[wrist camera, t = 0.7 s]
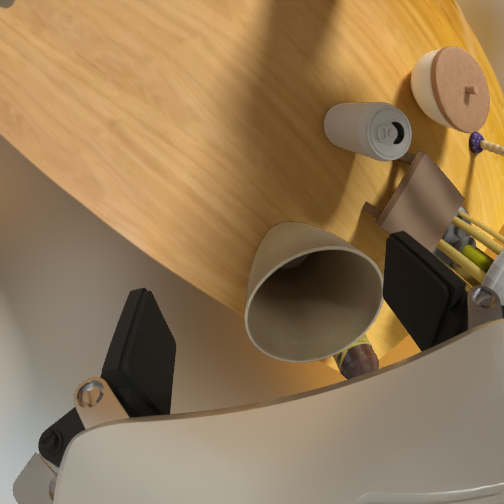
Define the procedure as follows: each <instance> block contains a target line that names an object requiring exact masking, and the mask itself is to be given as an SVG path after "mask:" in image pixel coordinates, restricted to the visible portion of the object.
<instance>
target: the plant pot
mask: <svg viewBox="0 0 504 504" xmlns="http://www.w3.org/2000/svg"><path fill="white" fill-rule="evenodd" d="M382 290H383V276H382V273H381V271H380V269H379V267H378V266H377V264H376V263H375V262H374V261H373V260H372V259H371V258H370V257H369V256H367V255H366V254H365V253H363V252H362V251H360V250H359V249H357V248H356V247H354V246H353V245H351V244H350V243H348V242H347V241H345V240H343V239H342V238H340V237H338V236H336V235H334V234H332V233H330V232H328V231H326V230H324V229H321V228H319V227H316V226H313V225H309V224H305V223H300V222H282V223H279V224H277V225H275V226H273V227H272V228H271V229H270V230H269V231H268V232H267V233H266V234H265V236H264V237H263V239H262V241H261V243H260V245H259V247H258V249H257V251H256V254H255V257H254V260H253V263H252V266H251V270H250V274H249V279H248V285H247V293H246V303H245V316H244V322H245V328H246V332H247V335H248V337H249V339H250V340H251V342H252V343H253V344H254V346H255V347H256V348H258V349H259V350H260V351H261V352H263V353H264V354H266V355H268V356H269V357H272V358H274V359H278V360H281V361H287V362H296V363H298V362H311V361H316V360H321V359H324V358H327V357H330V356H333V355H335V354H337V353H339V352H341V351H343V350H344V349H346V348H348V347H349V346H351V345H352V344H353V343H355V342H356V341H357V340H358V339H360V338H361V337H362V336H363V335H364V334H365V333H366V331H367V330H368V329H369V328H370V327H371V325H372V324H373V323H374V321H375V319H376V318H377V316H378V314H379V312H380V309H381V307H382V304H383V300H384V298H383V294H382Z"/></svg>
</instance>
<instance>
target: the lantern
mask: <svg viewBox="0 0 504 504" xmlns="http://www.w3.org/2000/svg"><path fill="white" fill-rule="evenodd" d="M471 222H472V223H473V224H475V225H476V226H478V227H480V228H481V229H483V230H484V231H486V232H487V233H489V234H490V235H492V236H493V237H495V238H497V239H498V240H499V241H501V242H502V243H504V237H503V236H502V235H500V234H499V233H497V232H496V231H494V230H492V229H491V228H489V227H488V226H486V225H484V224H483V223H481V222H480V221H478V220H476V219H475V218H473V217H471V216H469V214H468V212H467V211H466V209H465V208H464V207H462V206H461V207H460V208H459V210H458V212H457V214H456V215H455V217H454V219H453V221H452V222H451V224H450V226H449V227H448V229H447V230H446V232H445V234H444V235H443V237H442V238H441V240H440V242H439V243H438V245H437V246H436V248H435V249H434V251H433V252H432V254H434V255H435V256H436V257H437V258H438V259H439V260H441V261H442V262H443V263H444V264H445V265H446V266H448V267H449V268H450V269H451V268H452V269H453V270H454V271H455V272H456V273H455V272H454V271H453V270H452V269H451V270H452V271H453V272H454V273H455V274H456V275H458V274H459V275H460V276H461V277H462V278H463V279H464V280H465V281H464V280H463V279H462V278H461V277H460V276H459V275H458V276H459V277H460V278H461V279H462V280H463V281H464V282H465V283H466V282H468V283H469V284H470V285H471V286H472V287H474V286H485V287H488V288H490V289H492V290H493V291H495V292H496V293H497V295H498V296H499V298H500V302H501V305H503V306H504V247H502V246H501V245H499V244H498V243H496V242H495V241H494V240H492V239H491V238H489V237H488V236H486V235H485V234H483V233H482V232H480V231H479V230H477V229H475V228H474V227H472V226H471ZM471 236H472V237H473V238H475V239H476V240H478V241H479V242H481V243H482V244H483V245H485V246H486V247H488V248H489V249H490V250H492V251H493V252H495V253H496V254H497V255H498V257H497V258H496V260H495V261H494V260H493V259H492V258H490V257H489V256H488V255H486V254H485V253H484V252H482V251H481V250H480V249H478V248H477V247H476V242H475V240H474V239H473V238H472V237H471ZM468 283H466V287H465V290H466V291H467V292H468V291H469V289H470V288H472V287H471V286H470V285H469V284H468Z"/></svg>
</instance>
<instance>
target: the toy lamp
mask: <svg viewBox="0 0 504 504" xmlns="http://www.w3.org/2000/svg"><path fill="white" fill-rule="evenodd" d="M469 142H470V148H471V150H472V152H474V153H480V152H482V151H483V149H484V150H488V151H490V152H494V153H496V154H500V155H502V156H504V146H500V145H498V144H493V143H491V142H487V141H485V140H484V138H483V136H482V135H481V134H480V133H478V132H474V133H472V134H471V136H470V141H469Z"/></svg>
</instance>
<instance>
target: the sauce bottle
mask: <svg viewBox="0 0 504 504" xmlns="http://www.w3.org/2000/svg"><path fill="white" fill-rule="evenodd" d="M333 357H334V359H335V361H336V363H337V366H338V368H339V370H340V372H341V374H342V375H343V376H344V377H345V378H346V379H348V380H349V379H352V378H355V377H358V376H361V375H364V374H367V373H369V372H372V371H375V370H378V367H379V361H378V358H377V355H376V354H375V353H374V350H373V349H372V346H371V344H370V342H369V340H368V339H367V337H366V335H365V334H364V335H363V336H362V337H361V338H360V339H358V340H357V341H356V342H355V343H353V344H352V345H351V346H349V347H348V348H346V349H344V350H343V351H341V352H339V353H337V354H335V355H333Z"/></svg>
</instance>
